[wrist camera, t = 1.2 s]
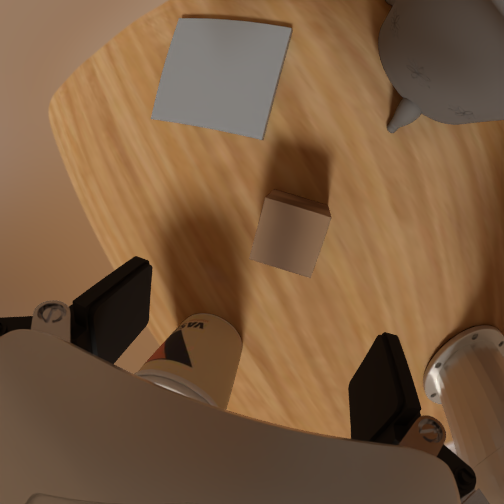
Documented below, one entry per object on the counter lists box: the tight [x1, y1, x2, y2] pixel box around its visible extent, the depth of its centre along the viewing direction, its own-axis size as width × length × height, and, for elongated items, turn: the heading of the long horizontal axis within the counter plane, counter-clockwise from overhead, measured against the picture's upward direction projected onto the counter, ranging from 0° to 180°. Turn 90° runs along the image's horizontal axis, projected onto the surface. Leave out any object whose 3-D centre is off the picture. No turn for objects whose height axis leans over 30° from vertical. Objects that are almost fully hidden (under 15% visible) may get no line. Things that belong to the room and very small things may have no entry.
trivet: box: [151, 18, 292, 140], centre depth 22 cm, size 11×11×1 cm
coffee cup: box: [135, 313, 242, 410], centre depth 27 cm, size 9×9×12 cm
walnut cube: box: [249, 189, 331, 278], centre depth 24 cm, size 5×5×5 cm
